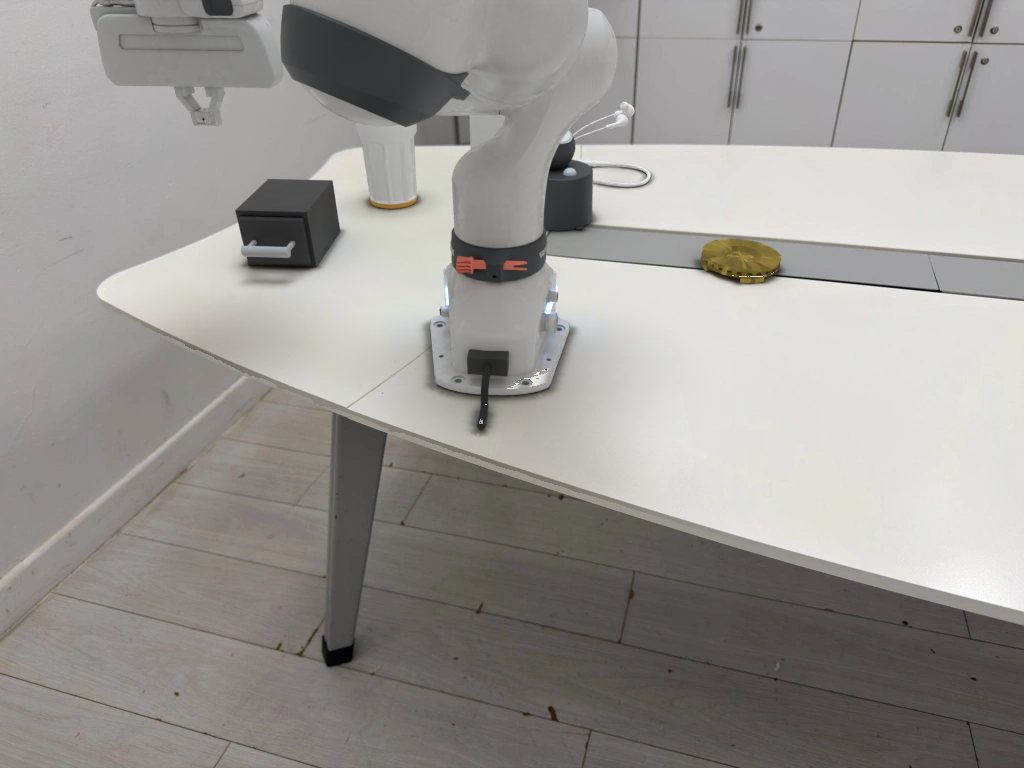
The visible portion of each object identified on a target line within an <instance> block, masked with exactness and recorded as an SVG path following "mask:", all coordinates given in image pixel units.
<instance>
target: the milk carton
mask: <svg viewBox="0 0 1024 768" xmlns="http://www.w3.org/2000/svg"><path fill="white" fill-rule="evenodd" d="M468 118H469V143H470V144H469V145H470V149H469V150H471V149H472V148H474V147H476V146H477V145H479V144H481V143H483V142H485V141H487V140H489V139H490V138H492V137H493V136H494V135H495V134H496V133H497V132H498V131H499V130H500V128H501V127H502V125H503V123H504V120H505V117H504V116H502V115H473V116H469V117H468Z"/></svg>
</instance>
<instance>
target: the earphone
mask: <svg viewBox="0 0 1024 768" xmlns="http://www.w3.org/2000/svg"><path fill="white" fill-rule="evenodd" d="M619 109H620V110H619ZM619 109H618V110H616V111H614V113H612V114H609V115H607V116H604V117H601V118H598V119H596V120H594V121H592V122H590V123H587V124H586V125H584V126H583V127H581V128H579V129H577V131H575V132H574V133H572V135H573V137H574V140H578V139H580V138H583V137H585V136H588V135H591V134H593V133H596V132H599V131H602V130H611V129H615V128H619V127H626V126H628V124H629V118H630V117H633V116H634V114H635V112H636V111H635V108H634V106H633V105H632V104H630V103H628V102H627V101H622V102H621V103H620V105H619ZM611 117H613V118H614V119H615V122H613V123H610V124H606V125H605V126H603V127H601V128H598V129H595V130H592V131H589V132H587V133H584V134H581V135H579V136H576V137H575V135H577V134H578V133H579V132H581V131H583V130H584V129H586V128H587V127H589V126H591V125H593V124H595V123H598V122H601V121H603V120H605V119H608V118H611ZM628 117H629V118H628ZM576 160H577V161H580V162H584V163H586V164H588V165H589V166H591V167H592V168H594V167H595V168H596V167H601V166H604V167H606V166H607V167H623V168H629V169H635V170H639V171H641V172H644V173H645V174H646V178H644V179H643V180H642V181H641V180H640V181H638V182H618V181H617V182H616V181H609V180H606V179H605V180H604V179H599V178H594V177H593V183H596V184H597V183H598V184H602V185H607V186H615V187H623V188H630V187H631V188H632V187H633V188H634V187H639V186H643V185H645V184H647V183H648V182H649V181H650V180H651V177H652V175H651V172H650V170H648V169H647V168H645V167H643V166H639V165H636V164H632V163H623V162H610V161H600V160H593V159H576Z"/></svg>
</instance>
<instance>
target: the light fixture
mask: <svg viewBox="0 0 1024 768" xmlns="http://www.w3.org/2000/svg"><path fill="white" fill-rule="evenodd" d="M574 138H575V136H573V133H572V131H571V129H569V131H568V132H567V133H566V135H565V136H564V138H563V139H562V141H561V142H560V144H559V146H558V148H557V150H556V152H555V154H554V157H553V159H552V162H551V165H550V169H549V173H548V179H547V186H546V195H545V206H544V225H543V227H544V228H545V229H546V231H555V232H556V231H557V232H558V231H559V232H560V231H561V232H562V231H564V232H565V231H572V230H575V229H576V230H583V229H584V227H586V226H588V225H589V224H590V223H591V222H592V221H593V199H594V197H593V193H594V182H593V178H594V169H593V167H591V166H589V165H588V164H586V163H584V162H580V161H577V160H578V159H573V158H574V155H575V153H576V141H575V140H574Z"/></svg>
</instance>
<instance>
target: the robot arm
mask: <svg viewBox="0 0 1024 768" xmlns="http://www.w3.org/2000/svg"><path fill="white" fill-rule="evenodd" d="M263 8H264V0H93V1H92V3H91V4H90V8H89V14H90V18H91V22H92V25H93V27H94V30H95V31H96V36H97V43H98V48H99V54H100V58H101V64H102V67H103V70H104V73H105V76H106V78H108V80H109V81H110V82H111V83H112V84H113V85H115V86H119V87H173V89H174V92H175V93H174V94H175V97H176V98H177V100H178V101H179V102H180V103H181V104H182V105H183V106H184V108H185V109H186V110H187V111H188V112H189V114H190V119H191V122H192V125H193V126H195V127H219V126H221V125H222V124H223V119H222V115H221V110H220V109H221V106H222V103H223V100H224V97H225V94H226V92H225V88H237V89H238V88H240V89H241V88H243V89H244V88H246V89H249V88H250V89H252V88H253V89H271V88H274V87H275V86H277V85H279V83H281V81H282V79H283V77H284V68H285V69H286V71H287V73H288V74H289V76H290V78H291V79H292V80H293V81H295V82H298V83H299V84H300V85H301V86H302V87H303V88H304V90H305V91H306V92H307V94H309V95H310V96H311V97H312V98H313V99H314V100H315V101H316V102H318V103H319V104H320V105H321V106H322V107H324V108H325V109H327V110H328V111H330V112H332V113H333V114H334V115H336V116H339V117H341V118H343V119H345V120H347V121H350V122H353V123H355V122H356V123H359V124H364V125H369V126H395V125H401V126H404V127H408V126H411V125H414V124H419V123H421V122H423V121H424V122H425V121H426V120H428V119H430V118H434V116H442V117H465V116H473V115H502V116H504V117H505V120H504V123H503V125H502V127H501V128H500V130H499V131H498V132H497V133H496V134H495V135H494V136H493V137H492V138H490V139H489V140H487V141H485V142H483V143H481V144H479V145H477V146H476V147H474V148H472V149H471V150H470V149H469V150H468V151H466V152H465V153H464V154H463V155H462V156H461V157H460V158H459V159H458V161H457V162H456V163H455V166H454V168H453V171H452V173H451V174H452V175H451V191H452V211H453V227H452V229H451V232H450V241H449V242H450V243H449V244H450V246H449V247H450V256H451V257H450V258H451V262H450V263H449V264H448V265H447V266H445V268H443V269H442V272H443V289H444V306H442V305H441V306H440V308H439V315H436V316H434V317H432V318H431V319H430V329H429V330H430V338H431V350H432V351H431V352H432V362H433V374H434V382H435V384H436V385H437V386H440V387H441V388H444V389H446V390H450V391H454V392H458V393H464V394H471V395H480V408H479V415H478V419H477V423H476V428H477V429H478V430H484V429H485V427H486V422H487V418H488V413H489V396H515V395H516V396H517V395H527V394H532V393H537V392H540V391H543V390H546V389H548V388H549V387H550V386H551V384H552V382H553V379H554V376H555V374H556V370H557V368H558V364H559V362H560V358H561V356H562V353H563V350H564V348H565V345H566V342H567V339H568V337H569V333H570V322H568V321H567V320H565V319H563V318H561V317H559V315H558V312H556V307H557V305H556V303H558V300H559V292H558V285H557V271H556V270H554V269H553V268H552V267H551V266H550V265H549V264H548V263H547V262H546V261H547V250H548V238H547V237H548V235H547V230H546V229H545V228H544V227H543V225H544V206H545V195H546V186H547V179H548V173H549V169H550V165H551V162H552V159H553V157H554V154H555V152H556V150H557V148H558V146H559V144H560V142H561V141H562V139H563V138H564V136H565V135H566V133H567V132H568V131H569V130H571V128H572V127H573V125H575V124H576V122H577V121H578V120H580V118H581V117H583V116H584V115H585V114H586V113H587V112H588V111H590V110H591V109H592V108H594V107H595V106H596V105H598V104H599V102H601V100H602V99H603V98H604V97H605V96H606V95H607V93H608V91H609V90H610V88H611V86H612V84H613V81H614V78H615V76H616V73H617V67H618V63H619V62H618V60H619V51H618V50H619V49H618V42H617V38H616V34H615V31H614V29H613V27H612V25H611V23H610V21H609V19H608V18H607V16H606V15H605V14H604V13H603V11H601V10H600V9H598V8H594V7H590V6H589V0H289V3H288V4H283V5H282V10H281V11H282V12H281V22H280V36H279V37H280V39H279V41H280V43H279V44H280V48H279V44H278V41H277V38H276V34H275V32H274V29H273V26H272V24H271V23H270V21H269V20H268V19H267V18H266V16H265V15H262V14H261V13H259V12H260V11H262V10H263ZM195 88H204V92H205V95H206V97H207V98H210V102H209V104H208V105H209V106H208V107H201V105H200V104H199V102H198V101H197V100H196V98H195V97H194V96H193V94H194V93H195V92H196V90H195ZM554 365H555V366H554ZM547 368H550V369H549V370H548V371H547ZM553 368H554V369H553ZM544 369H545V370H546V371H542V370H544ZM552 370H553V372H550V371H552ZM537 372H540V373H539V375H541V374H544V373H547V372H549V373H548V375H551V377H550V379H549V381H548V382H546V383H543V384H540V385H537V386H532V387H527V388H519V389H507V388H513V387H511V386H514V385H516V384H515V383H519V384H518V385H521V386H530V385H532V383H533V382H532V381H531V380H530V379H524V378H531V377H534V376H538V375H534V374H536V373H537ZM551 373H552V374H551ZM520 379H521V380H520ZM536 379H539V378H536ZM518 381H519V382H518ZM485 404H487V405H485ZM480 419H481V420H483V424H479V421H480ZM480 423H481V422H480Z"/></svg>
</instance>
